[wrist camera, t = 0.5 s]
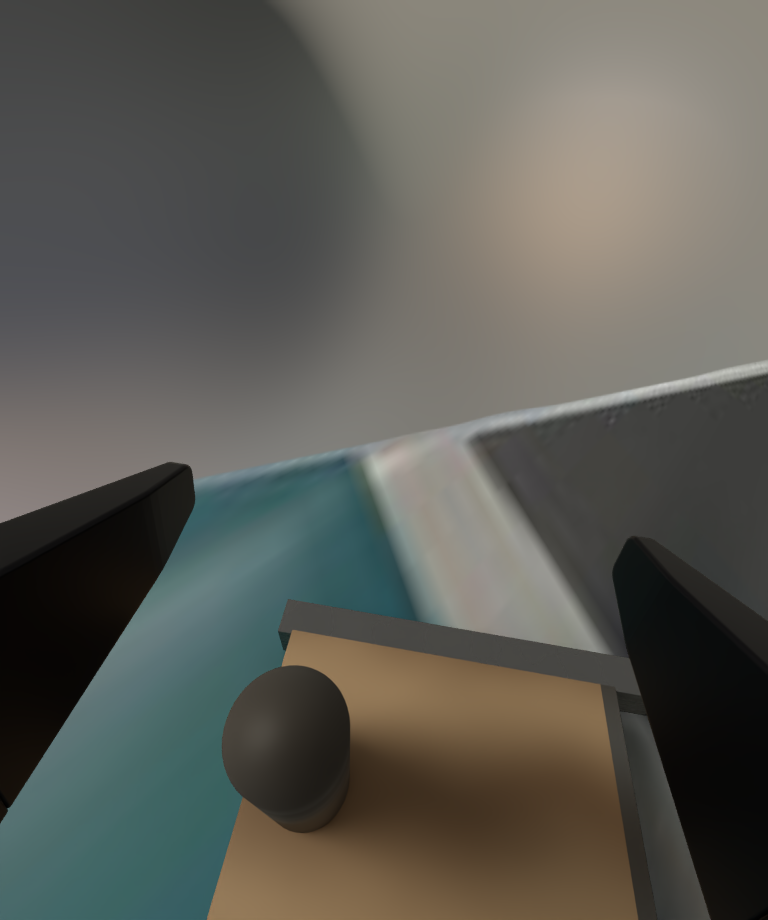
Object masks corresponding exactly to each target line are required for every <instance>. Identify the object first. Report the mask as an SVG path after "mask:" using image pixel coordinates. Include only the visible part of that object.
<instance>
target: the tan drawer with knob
mask: <svg viewBox="0 0 768 920" xmlns="http://www.w3.org/2000/svg"><path fill="white" fill-rule="evenodd" d="M222 757H223V762H224V767H225V770H226V773H227V775H228V777H229V779H230V781H231V783H232V785H233V786H234V787H235V789H236V790H237V791H238V792H239V793H240V794H241V795H242V796H243V799H242V802H241V805H240V809H239V812H238V816H237V819H236V822H235V826H234V829H233V833H232V836H231V839H230V843H229V846H228V849H227V853H226V856H225V860H224V863H223V866H222V870H221V873H220V877H219V880H218V883H217V887H216V890H215V894H214V897H213V900H212V904H211V907H210V910H209V914H208V917H207V920H657V915H656V909H655V904H654V898H653V893H652V887H651V882H650V876H649V871H648V865H647V860H646V854H645V849H644V843H643V838H642V832H641V827H640V821H639V816H638V810H637V804H636V799H635V793H634V788H633V782H632V777H631V771H630V766H629V760H628V755H627V749H626V744H625V738H624V733H623V727H622V722H621V716H620V711H619V705H618V700H617V694H616V689H615V687H612V686H607V685H601V684H596V683H590V682H584V681H579V680H573V679H567V678H562V677H556V676H550V675H545V674H539V673H534V672H528V671H522V670H517V669H511V668H505V667H500V666H494V665H488V664H483V663H477V662H472V661H466V660H460V659H455V658H449V657H443V656H438V655H432V654H426V653H421V652H415V651H410V650H404V649H398V648H393V647H387V646H381V645H376V644H370V643H364V642H359V641H353V640H348V639H342V638H336V637H331V636H325V635H319V634H314V633H308V632H302V631H297V630H292V633H291V636H290V639H289V643H288V646H287V649H286V653H285V656H284V660H283V663H282V666H281V667H279V668H275V669H273V670H270V671H268V672H266V673H264V674H262V675H261V676H259V677H258V678H256V679H255V680H254V681H252V682H251V683H250V684H249V685H248V686H247V687H246V688H245V689H244V690H243V691H242V693H241V694H240V695H239V697H238V698H237V699H236V701H235V702H234V704H233V706H232V708H231V710H230V712H229V715H228V717H227V720H226V723H225V727H224V731H223V737H222Z"/></svg>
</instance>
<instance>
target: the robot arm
mask: <svg viewBox="0 0 768 920" xmlns="http://www.w3.org/2000/svg"><path fill="white" fill-rule="evenodd" d="M194 504H195V491H194V483H193V474H192V470H191V468H190V466H189V465H186V464H180V463H174V462H168V463H165V464H162V465H159V466H157V467H154V468H151V469H148V470H146V471H143V472H140V473H138V474H135V475H132V476H129V477H126V478H124V479H121V480H118V481H115V482H113V483H110V484H107V485H104V486H102V487H99V488H96V489H93V490H91V491H88V492H85V493H83V494H80V495H77V496H74V497H71V498H69V499H66V500H63V501H60V502H58V503H55V504H52V505H49V506H47V507H44V508H41V509H38V510H36V511H33V512H30V513H27V514H25V515H22V516H19V517H16V518H14V519H11V520H9V521H5V522H3V523H0V823H1V821H2V820H3V818H4V817H5V815H6V814H7V812H8V809H7V808H9V807H10V806H11V805H12V804H13V802H14V801H15V799H16V797H17V796H18V794H19V793H20V791H21V790H22V788H23V787H24V785H25V783H26V782H27V780H28V779H29V777H30V776H31V774H32V773H33V771H34V769H35V768H36V766H37V765H38V763H39V762H40V760H41V759H42V757H43V755H44V754H45V752H46V751H47V749H48V748H49V746H50V745H51V743H52V741H53V740H54V738H55V737H56V735H57V734H58V732H59V731H60V729H61V727H62V726H63V724H64V723H65V721H66V720H67V718H68V717H69V715H70V713H71V712H72V710H73V709H74V707H75V706H76V704H77V703H78V701H79V699H80V698H81V696H82V695H83V693H84V692H85V690H86V689H87V687H88V685H89V684H90V682H91V681H92V679H93V678H94V676H95V675H96V673H97V671H98V670H99V668H100V667H101V665H102V664H103V662H104V661H105V659H106V657H107V656H108V654H109V653H110V651H111V650H112V648H113V647H114V645H115V643H116V642H117V640H118V639H119V637H120V636H121V634H122V633H123V631H124V629H125V628H126V626H127V625H128V623H129V622H130V620H131V619H132V617H133V615H134V614H135V612H136V611H137V609H138V608H139V606H140V605H141V603H142V601H143V600H144V598H145V597H146V595H147V594H148V592H149V591H150V589H151V587H152V586H153V584H154V583H155V581H156V580H157V578H158V576H159V575H160V573H161V572H162V570H163V568H164V566H165V564H166V563H167V561H168V559H169V557H170V555H171V553H172V551H173V549H174V547H175V545H176V543H177V540H178V538H179V536H180V534H181V532H182V530H183V528H184V526H185V524H186V522H187V520H188V518H189V516H190V514H191V512H192V510H193V508H194ZM612 578H613V583H614V589H615V594H616V599H617V604H618V609H619V615H620V620H621V625H622V630H623V635H624V640H625V644H626V648H627V652H628V655H629V659H630V662H631V665H632V668H633V671H634V675H635V678H636V681H637V684H638V688H639V691H640V694H641V697H642V700H643V704H644V707H645V710H646V713H647V716H648V720H649V723H650V726H651V729H652V732H653V736H654V739H655V742H656V745H657V748H658V752H659V755H660V758H661V761H662V765H663V768H664V771H665V774H666V777H667V781H668V784H669V787H670V790H671V793H672V797H673V800H674V803H675V806H676V809H677V813H678V816H679V819H680V822H681V826H682V829H683V832H684V835H685V838H686V842H687V845H688V848H689V851H690V854H691V858H692V861H693V864H694V867H695V870H696V874H697V877H698V880H699V883H700V887H701V890H702V893H703V896H704V899H705V903H706V906H707V909H708V912H709V915H710V919H711V920H768V621H767V620H766V619H764V618H763V617H761V616H760V615H759V614H757V613H756V612H754V611H753V610H752V609H750V608H749V607H747V606H746V605H745V604H743V603H742V602H740V601H739V600H738V599H736V598H735V597H734V596H732V595H731V594H729V593H728V592H727V591H725V590H724V589H722V588H721V587H720V586H718V585H717V584H715V583H714V582H713V581H711V580H710V579H708V578H707V577H706V576H704V575H703V574H701V573H700V572H699V571H697V570H696V569H694V568H693V567H692V566H690V565H689V564H687V563H686V562H685V561H683V560H682V559H680V558H679V557H678V556H676V555H675V554H673V553H672V552H671V551H669V550H668V549H666V548H665V547H664V546H662V545H661V544H659V543H658V542H657V541H655V540H653V539H651V538H645V537H638V536H631V537H629V538H628V539H627V541H626V542H625V544H624V546H623V548H622V550H621V552H620V554H619V556H618V558H617V560H616V562H615V564H614V566H613V570H612Z"/></svg>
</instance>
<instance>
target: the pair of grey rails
mask: <svg viewBox="0 0 768 920" xmlns="http://www.w3.org/2000/svg"><path fill="white" fill-rule="evenodd" d="M292 630H297V631H302V632H308V633H314V634H319V635H325V636H331V637H336V638H342V639H348V640H353V641H359V642H364V643H370V644H376V645H381V646H387V647H393V648H398V649H404V650H410V651H415V652H421V653H426V654H432V655H438V656H443V657H449V658H455V659H460V660H466V661H472V662H477V663H483V664H488V665H494V666H500V667H505V668H511V669H517V670H522V671H528V672H534V673H539V674H545V675H550V676H556V677H562V678H567V679H573V680H579V681H584V682H590V683H596V684H601V685H607V686H612V687H615V689H616V694H617V700H618V705H619V711H624V712H630V713H636V714H641V715H647V713H646V710H645V707H644V704H643V700H642V697H641V694H640V691H639V688H638V684H637V681H636V678H635V675H634V671H633V668H632V665H631V662H630V659H629V658H625V657H619V656H613V655H607V654H601V653H596V652H590V651H584V650H578V649H573V648H567V647H561V646H555V645H550V644H544V643H538V642H532V641H526V640H521V639H515V638H509V637H503V636H498V635H492V634H486V633H480V632H475V631H469V630H463V629H457V628H451V627H446V626H440V625H434V624H428V623H423V622H417V621H411V620H405V619H400V618H394V617H388V616H382V615H377V614H371V613H365V612H359V611H353V610H348V609H342V608H336V607H330V606H325V605H319V604H313V603H307V602H302V601H296V600H290V599H288V601H287V604H286V607H285V610H284V614H283V617H282V620H281V623H280V626H279V629H278V633H279V636H280V640H281V643H282V647H283V650H286V649H287V646H288V643H289V639H290V636H291V633H292Z"/></svg>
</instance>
